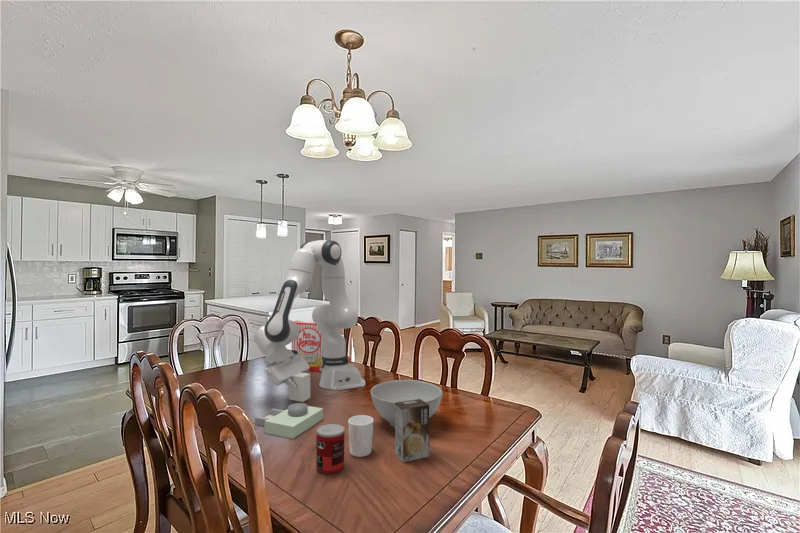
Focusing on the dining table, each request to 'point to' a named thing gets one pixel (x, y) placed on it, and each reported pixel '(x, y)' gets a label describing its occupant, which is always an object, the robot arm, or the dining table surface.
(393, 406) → the decorative bowl
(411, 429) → the coffee box
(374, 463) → the dining table surface
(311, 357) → the popcorn box
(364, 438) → the white cup
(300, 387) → the white rectangular block
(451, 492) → the dining table surface
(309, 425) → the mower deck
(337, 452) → the canned food
